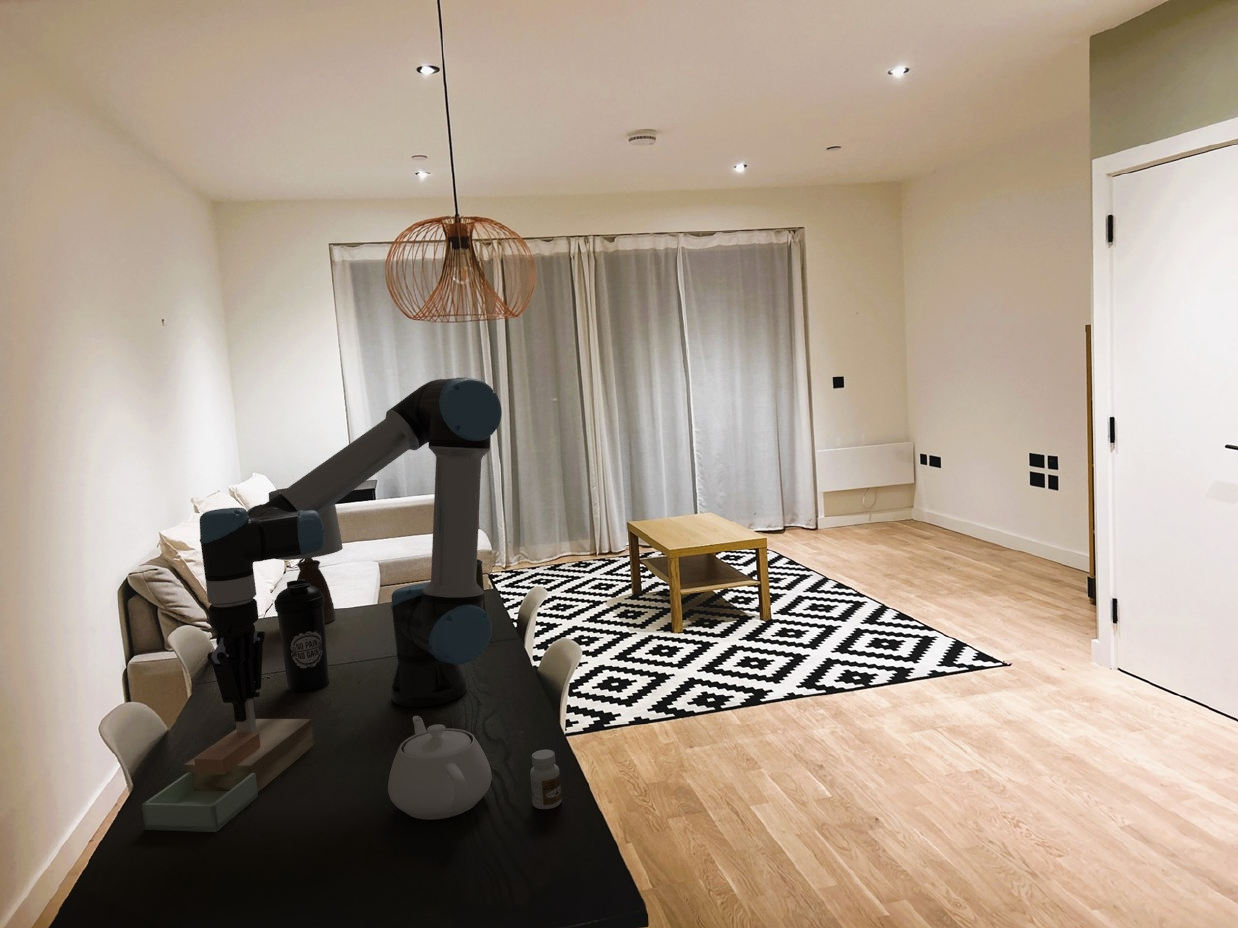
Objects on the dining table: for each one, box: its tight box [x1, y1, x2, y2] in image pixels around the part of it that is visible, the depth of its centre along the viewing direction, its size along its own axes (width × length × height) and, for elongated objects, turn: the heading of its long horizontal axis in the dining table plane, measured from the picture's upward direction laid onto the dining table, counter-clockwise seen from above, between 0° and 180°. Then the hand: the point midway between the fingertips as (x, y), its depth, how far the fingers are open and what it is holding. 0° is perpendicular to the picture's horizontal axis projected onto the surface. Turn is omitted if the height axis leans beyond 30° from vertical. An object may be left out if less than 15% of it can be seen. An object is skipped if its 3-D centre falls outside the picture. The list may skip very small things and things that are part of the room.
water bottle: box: [274, 579, 330, 694], centre depth 198 cm, size 10×10×23 cm
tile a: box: [214, 732, 261, 760], centre depth 152 cm, size 5×5×2 cm
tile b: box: [194, 744, 243, 775], centre depth 147 cm, size 5×5×2 cm
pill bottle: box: [529, 749, 562, 810], centre depth 137 cm, size 4×4×8 cm
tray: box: [141, 772, 259, 833], centre depth 142 cm, size 12×11×4 cm
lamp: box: [268, 487, 344, 625], centre depth 251 cm, size 19×19×37 cm
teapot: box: [387, 715, 492, 821], centre depth 140 cm, size 25×16×12 cm, turn 27°
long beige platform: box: [183, 718, 315, 793], centre depth 157 cm, size 12×19×5 cm, turn 170°
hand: (247, 736), depth 155 cm, fingers closed
